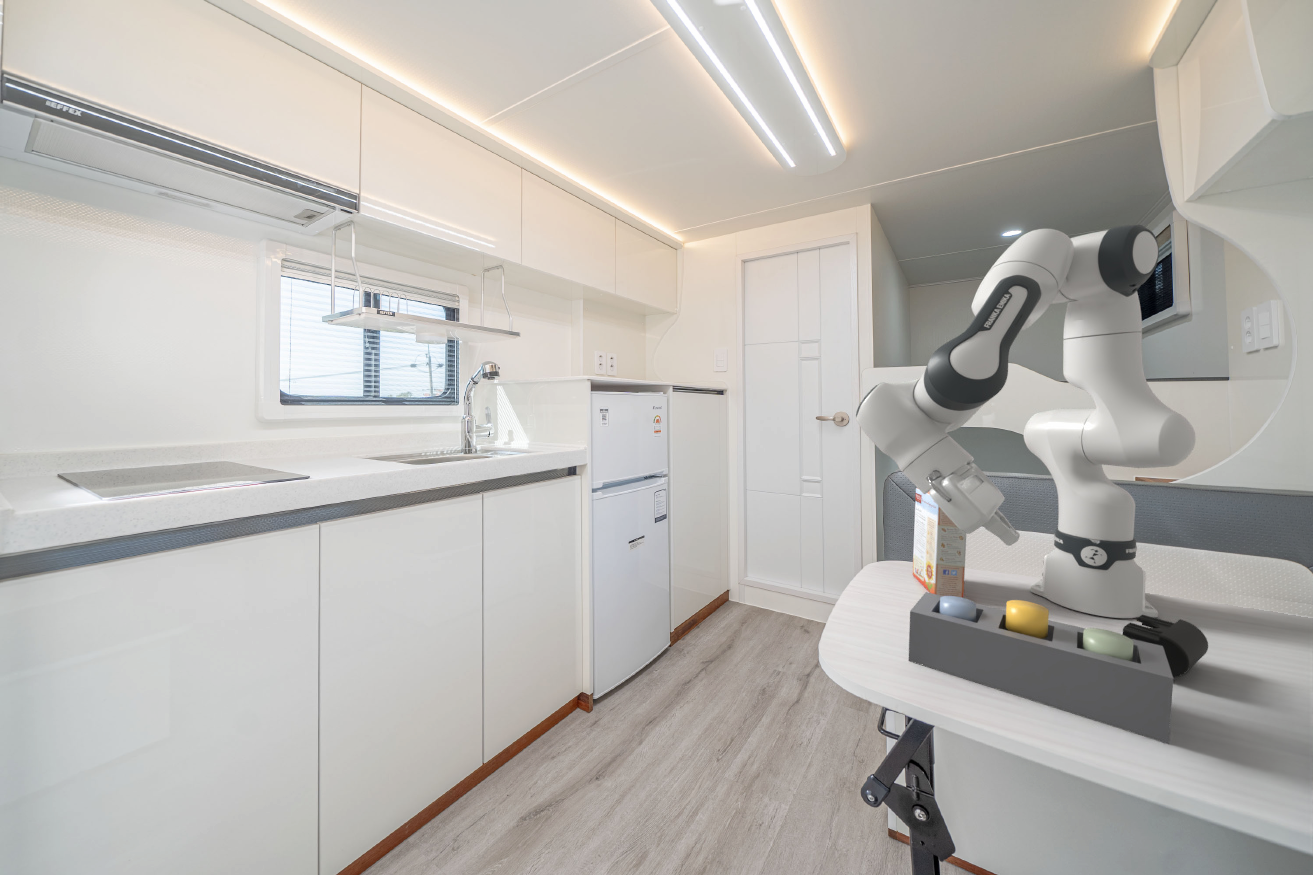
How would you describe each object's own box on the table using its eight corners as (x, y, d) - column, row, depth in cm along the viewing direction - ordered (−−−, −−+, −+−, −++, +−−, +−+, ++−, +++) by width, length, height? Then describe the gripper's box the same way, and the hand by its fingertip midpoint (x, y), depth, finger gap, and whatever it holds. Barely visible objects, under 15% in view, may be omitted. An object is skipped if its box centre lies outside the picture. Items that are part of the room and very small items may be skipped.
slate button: (942, 614, 78) (943, 593, 78) (977, 622, 75) (978, 601, 75) (936, 624, 75) (936, 602, 74) (972, 634, 71) (973, 611, 71)
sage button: (1082, 649, 67) (1083, 624, 67) (1130, 661, 64) (1132, 635, 63) (1082, 663, 63) (1083, 637, 63) (1133, 676, 60) (1135, 649, 60)
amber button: (1007, 619, 72) (1008, 597, 72) (1048, 629, 69) (1049, 606, 69) (1003, 631, 69) (1004, 607, 69) (1046, 642, 66) (1047, 617, 65)
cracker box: (965, 601, 98) (969, 499, 96) (933, 598, 99) (936, 498, 97) (939, 576, 111) (943, 487, 110) (911, 575, 112) (914, 486, 111)
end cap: (1187, 690, 67) (1190, 643, 67) (1119, 666, 73) (1122, 623, 73) (1206, 670, 72) (1210, 626, 72) (1142, 649, 78) (1144, 609, 78)
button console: (924, 637, 83) (925, 591, 82) (1158, 703, 64) (1162, 645, 63) (908, 660, 75) (910, 610, 75) (1168, 743, 57) (1173, 678, 56)
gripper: (942, 461, 66) (1029, 545, 60) (968, 450, 81) (1039, 515, 75) (906, 490, 69) (985, 572, 63) (937, 473, 84) (1003, 538, 78)
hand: (1015, 541), depth 69 cm, fingers closed
